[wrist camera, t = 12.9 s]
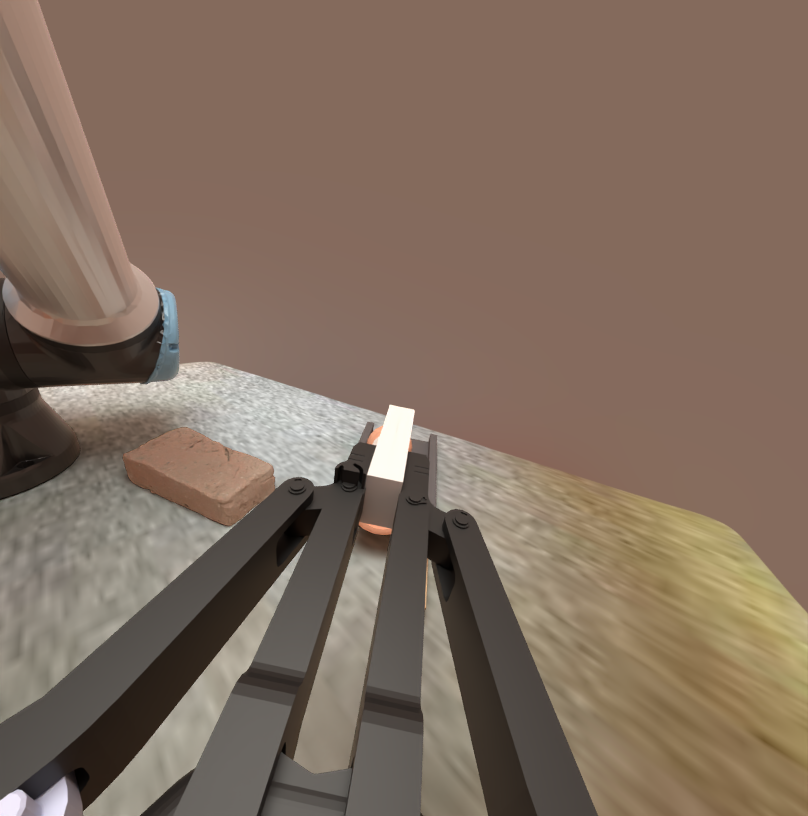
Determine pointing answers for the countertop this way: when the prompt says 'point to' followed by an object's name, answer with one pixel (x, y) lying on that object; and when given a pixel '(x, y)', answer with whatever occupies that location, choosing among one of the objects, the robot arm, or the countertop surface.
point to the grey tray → (421, 448)
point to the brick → (201, 474)
